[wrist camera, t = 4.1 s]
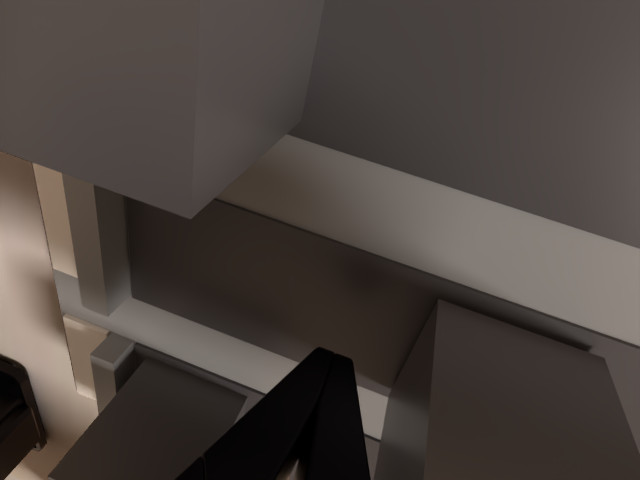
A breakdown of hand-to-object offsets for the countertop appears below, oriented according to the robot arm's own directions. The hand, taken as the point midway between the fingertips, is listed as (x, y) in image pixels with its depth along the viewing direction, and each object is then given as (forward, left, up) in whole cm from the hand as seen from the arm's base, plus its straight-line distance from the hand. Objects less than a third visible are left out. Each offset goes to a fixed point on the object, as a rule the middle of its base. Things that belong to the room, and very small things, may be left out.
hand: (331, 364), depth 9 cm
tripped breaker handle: (+3, 0, -1) cm, 4 cm away
